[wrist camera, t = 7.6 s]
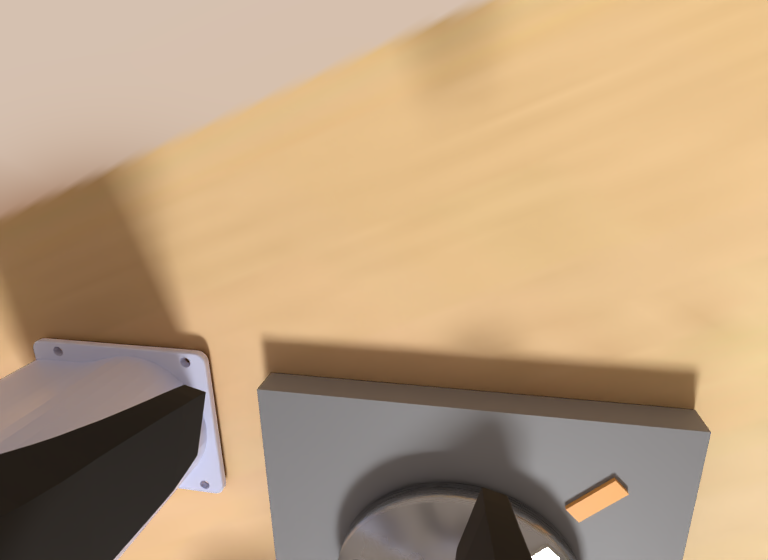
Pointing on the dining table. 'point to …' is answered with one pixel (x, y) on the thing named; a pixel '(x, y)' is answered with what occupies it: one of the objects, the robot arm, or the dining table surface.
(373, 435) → the dial base
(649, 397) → the dining table surface
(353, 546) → the dial
